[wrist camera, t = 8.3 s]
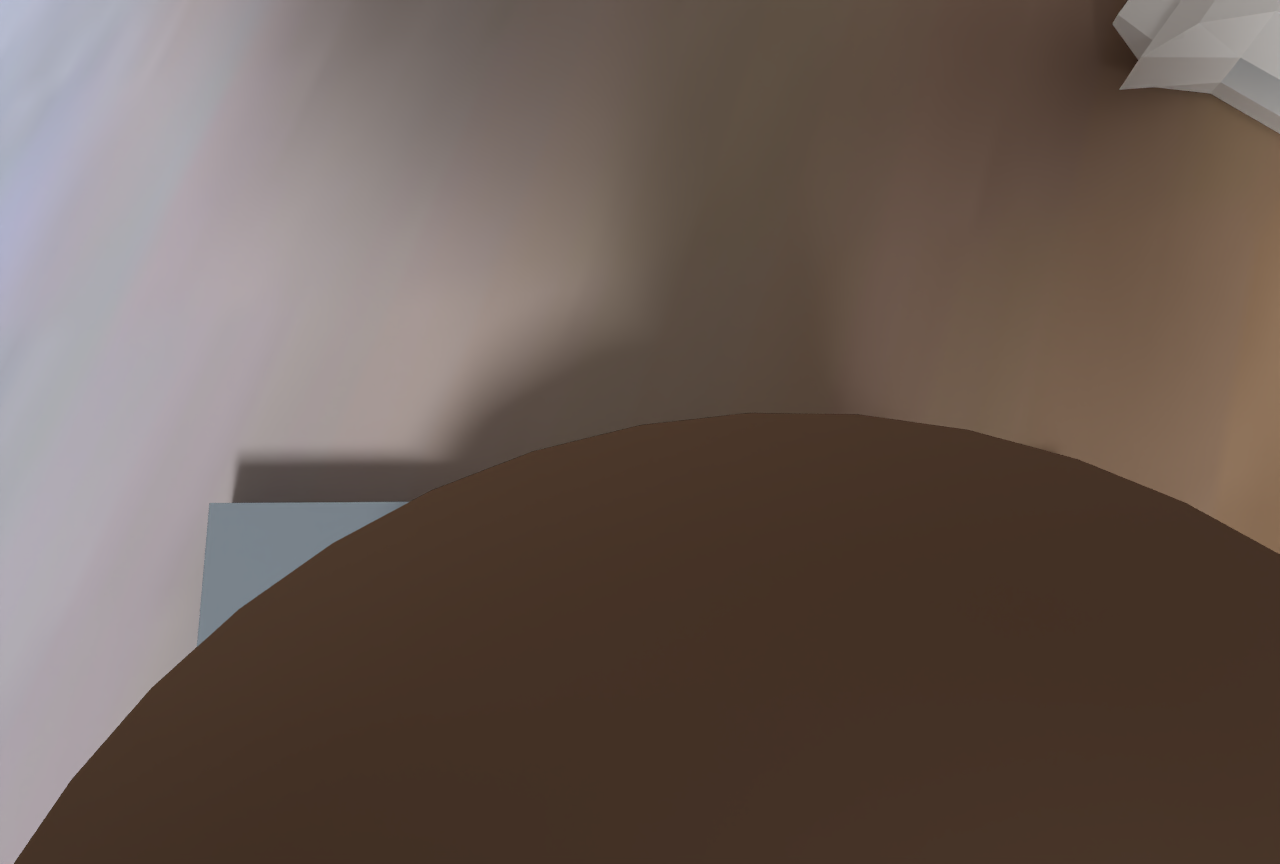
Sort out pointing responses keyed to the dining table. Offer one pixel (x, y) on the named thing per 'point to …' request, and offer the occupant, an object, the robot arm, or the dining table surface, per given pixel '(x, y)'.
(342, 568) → the walnut peg
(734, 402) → the dining table surface
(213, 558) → the socket board
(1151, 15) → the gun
